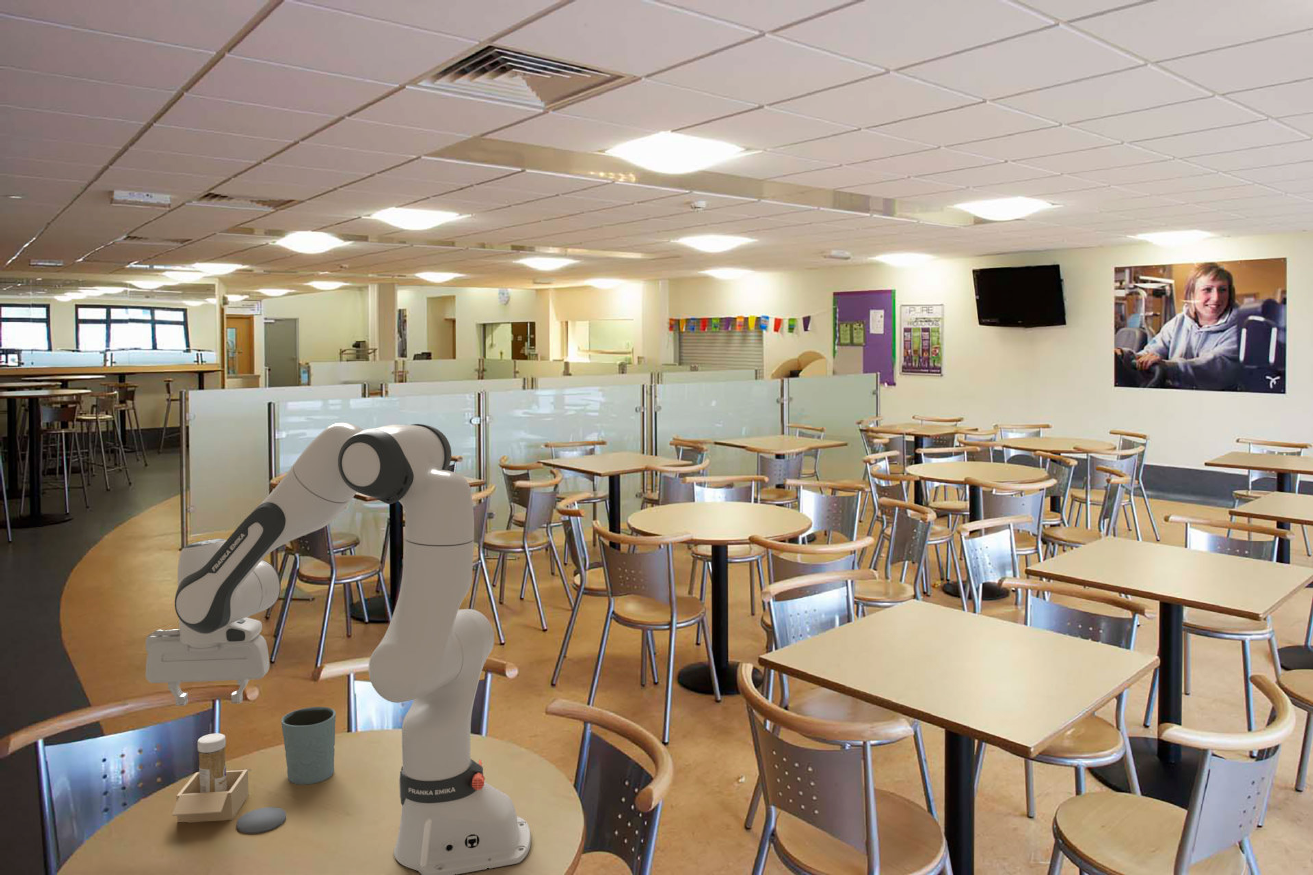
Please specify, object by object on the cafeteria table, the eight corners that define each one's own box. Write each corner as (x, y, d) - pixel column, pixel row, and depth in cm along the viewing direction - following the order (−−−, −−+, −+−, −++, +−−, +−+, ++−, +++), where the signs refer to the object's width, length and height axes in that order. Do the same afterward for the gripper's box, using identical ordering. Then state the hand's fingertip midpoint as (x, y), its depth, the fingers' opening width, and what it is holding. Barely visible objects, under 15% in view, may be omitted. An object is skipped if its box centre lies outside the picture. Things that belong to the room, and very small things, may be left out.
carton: (254, 785, 171) (253, 760, 171) (225, 830, 155) (224, 801, 154) (204, 788, 170) (203, 762, 170) (169, 833, 154) (167, 805, 153)
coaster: (291, 808, 162) (291, 805, 162) (279, 831, 154) (278, 828, 154) (245, 811, 161) (245, 808, 161) (230, 834, 153) (230, 831, 153)
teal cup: (305, 790, 169) (304, 729, 168) (271, 778, 174) (269, 719, 173) (348, 770, 178) (347, 711, 177) (314, 758, 183) (312, 702, 182)
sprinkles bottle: (229, 810, 162) (227, 738, 161) (201, 817, 159) (198, 744, 158) (226, 800, 166) (223, 730, 164) (198, 806, 163) (195, 735, 162)
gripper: (137, 635, 155) (140, 712, 156) (260, 631, 158) (262, 707, 159) (152, 625, 161) (155, 699, 163) (271, 621, 164) (272, 694, 165)
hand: (209, 703), depth 161 cm, fingers open, 8 cm apart
